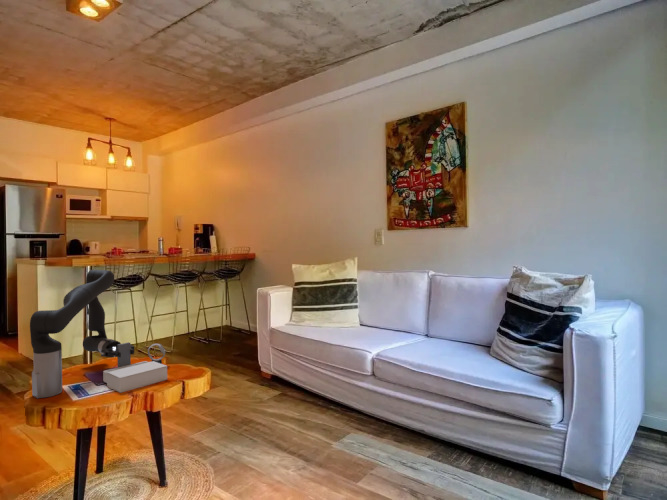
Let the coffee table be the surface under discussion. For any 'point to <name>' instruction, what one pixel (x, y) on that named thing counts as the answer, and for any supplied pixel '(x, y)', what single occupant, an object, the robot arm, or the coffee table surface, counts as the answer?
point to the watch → (160, 350)
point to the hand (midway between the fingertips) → (126, 353)
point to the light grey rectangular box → (136, 376)
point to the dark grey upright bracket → (122, 359)
